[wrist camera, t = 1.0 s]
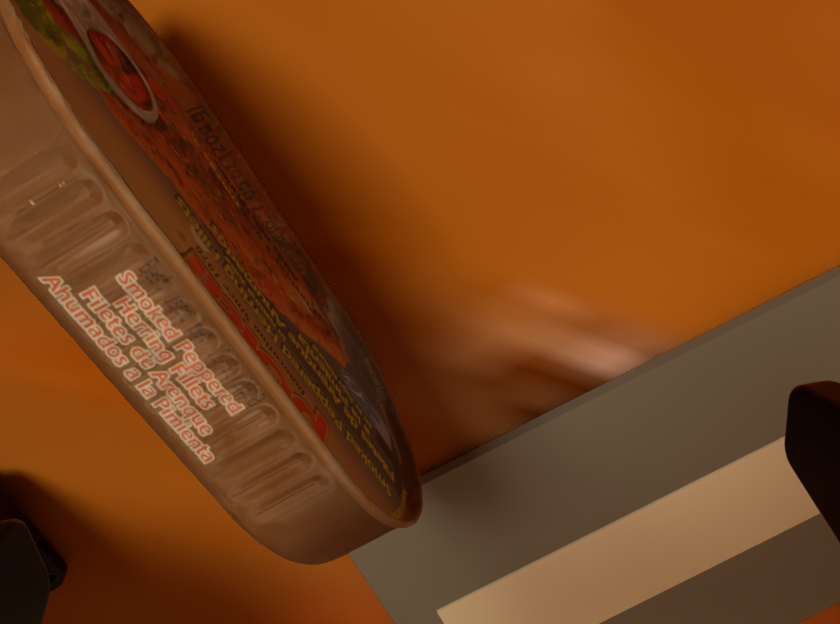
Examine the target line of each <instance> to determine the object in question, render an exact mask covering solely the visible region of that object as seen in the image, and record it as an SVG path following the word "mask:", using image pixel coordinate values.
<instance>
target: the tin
mask: <svg viewBox="0 0 840 624" xmlns="http://www.w3.org/2000/svg"><path fill="white" fill-rule="evenodd" d="M0 256H1V258H2V259H3V260H4V261H5V262H6V263H7V264H8V265H9V266H10V267H11V268H12V269H13V270H14V271H15V273H16V274H17V275H18V276H19V278H20V279H21V280H22V281H23V283H24V284H25V285H26V286H27V287H28V288H29V290H30V291H31V292H32V293H33V294H34V295H35V296H36V297H37V299H38V300H39V301H40V302H41V303H42V304H43V305H44V306H45V308H46V309H47V310H48V311H49V312H50V313H51V314H52V315H53V317H54V318H55V319H56V320H57V321H58V322H59V324H60V325H61V326H62V327H63V328H64V329H65V330H66V331H67V332H68V333H69V335H70V336H71V337H72V338H73V339H74V340H75V341H76V342H77V344H78V345H79V346H80V347H81V348H82V350H83V351H84V352H85V353H86V355H87V356H88V357H89V358H90V359H91V360H92V361H93V362H94V363H95V364H96V366H97V367H98V368H99V369H100V370H101V372H102V373H103V374H104V375H105V376H106V377H107V378H108V379H109V380H110V382H111V383H112V384H113V385H114V386H115V387H116V388H117V389H118V390H119V391H120V393H121V394H122V395H123V396H124V397H125V399H126V400H127V401H128V402H129V403H130V404H131V405H132V406H133V407H134V408H135V410H136V411H137V412H138V413H139V414H140V415H141V416H142V417H143V418H144V419H145V421H146V422H147V423H148V424H149V425H150V426H151V427H152V428H153V430H154V431H155V432H156V433H157V434H158V435H159V436H160V437H161V439H162V440H163V441H164V442H165V443H166V444H167V445H168V447H169V448H170V449H171V450H172V451H173V452H174V453H175V454H176V455H177V456H178V457H179V458H180V459H181V461H182V462H183V463H184V464H185V466H186V467H187V468H188V469H189V470H190V471H191V472H192V473H193V474H194V475H195V476H196V477H197V479H198V480H199V481H200V482H201V483H202V484H203V486H204V487H205V488H206V489H207V490H208V491H209V492H210V493H211V494H212V496H213V497H214V498H215V499H216V500H217V501H218V502H219V504H220V505H221V506H222V507H223V508H224V509H225V510H226V511H227V513H228V514H229V515H230V516H231V517H232V518H233V519H234V520H235V521H236V522H237V523H238V524H239V525H240V526H241V527H242V528H243V529H244V530H245V531H247V532H248V533H249V534H250V535H251V536H252V537H254V538H255V539H256V540H257V541H258V542H259V543H260V544H262V545H263V546H265V547H266V548H268V549H269V550H271V551H272V552H274V553H276V554H278V555H280V556H281V557H283V558H285V559H287V560H290V561H293V562H296V563H302V564H322V563H326V562H329V561H332V560H334V559H336V558H339V557H341V556H343V555H346V554H348V553H350V552H352V551H354V550H356V549H358V548H360V547H362V546H364V545H365V544H367V543H369V542H371V541H373V540H375V539H377V538H379V537H381V536H383V535H385V534H386V533H388V532H390V531H392V530H394V529H397V528H407V527H410V526H412V525H414V524H416V522H417V521H418V519H419V517H420V516H421V512H422V507H423V495H422V486H421V479H420V475H419V471H418V466H417V463H416V459H415V456H414V453H413V450H412V447H411V444H410V441H409V438H408V435H407V433H406V430H405V428H404V425H403V423H402V420H401V418H400V415H399V412H398V410H397V407H396V405H395V402H394V400H393V397H392V395H391V393H390V390H389V388H388V386H387V383H386V381H385V379H384V377H383V375H382V373H381V371H380V369H379V367H378V365H377V363H376V361H375V359H374V358H373V356H372V354H371V352H370V350H369V348H368V347H367V345H366V343H365V341H364V340H363V338H362V336H361V334H360V333H359V331H358V330H357V328H356V327H355V325H354V324H353V322H352V320H351V318H350V316H349V315H348V313H347V312H346V310H345V309H344V307H343V305H342V304H341V302H340V301H339V299H338V298H337V296H336V295H335V293H334V292H333V290H332V289H331V287H330V286H329V284H328V283H327V281H326V280H325V279H324V277H323V275H322V274H321V272H320V271H319V269H318V268H317V266H316V265H315V263H314V262H313V260H312V259H311V258H310V256H309V255H308V253H307V252H306V250H305V249H304V247H303V246H302V244H301V242H300V241H299V239H298V238H297V237H296V235H295V234H294V232H293V231H292V229H291V228H290V226H289V225H288V223H287V222H286V220H285V219H284V217H283V216H282V214H281V213H280V211H279V210H278V208H277V207H276V205H275V204H274V202H273V201H272V199H271V198H270V196H269V195H268V193H267V192H266V190H265V189H264V187H263V186H262V184H261V183H260V181H259V180H258V178H257V177H256V175H255V174H254V172H253V171H252V169H251V168H250V166H249V165H248V163H247V162H246V160H245V159H244V157H243V156H242V154H241V153H240V151H239V150H238V148H237V147H236V145H235V144H234V142H233V141H232V139H231V138H230V136H229V135H228V133H227V132H226V130H225V129H224V127H223V126H222V124H221V123H220V121H219V120H218V118H217V117H216V115H215V114H214V112H213V111H212V109H211V108H210V106H209V105H208V103H207V102H206V100H205V99H204V97H203V96H202V95H201V93H200V92H199V90H198V89H197V87H196V86H195V84H194V83H193V82H192V80H191V79H190V77H189V76H188V74H187V73H186V72H185V70H184V69H183V68H182V66H181V65H180V63H179V62H178V61H177V59H176V58H175V57H174V55H173V54H172V53H171V52H170V51H169V49H168V48H167V47H166V45H165V44H164V43H163V42H162V40H161V39H160V38H159V37H158V35H157V34H156V33H155V31H154V30H153V29H152V28H151V27H150V25H149V24H148V23H147V22H146V20H145V19H144V18H143V17H142V15H141V14H140V13H139V12H138V11H137V10H136V8H135V7H134V6H133V5H132V4H131V3H130V2H129V1H128V0H0Z"/></svg>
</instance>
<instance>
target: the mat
mask: <svg viewBox="0 0 840 624" xmlns="http://www.w3.org/2000/svg"><path fill="white" fill-rule="evenodd" d="M819 381H835V382H838V383H840V266H838V267H836V268H834V269H832V270H830V271H828V272H826V273H824V274H822V275H820V276H818V277H816V278H814V279H812V280H810V281H808V282H806V283H804V284H802V285H800V286H798V287H796V288H794V289H792V290H790V291H788V292H786V293H784V294H782V295H780V296H778V297H776V298H774V299H772V300H770V301H768V302H766V303H764V304H762V305H760V306H758V307H756V308H754V309H752V310H750V311H748V312H746V313H744V314H742V315H740V316H738V317H736V318H734V319H732V320H730V321H728V322H726V323H724V324H722V325H720V326H718V327H716V328H714V329H712V330H710V331H708V332H706V333H704V334H702V335H700V336H698V337H696V338H694V339H692V340H690V341H688V342H686V343H684V344H682V345H680V346H678V347H676V348H674V349H672V350H670V351H668V352H666V353H664V354H662V355H660V356H658V357H657V358H655V359H653V360H651V361H649V362H647V363H645V364H643V365H641V366H639V367H637V368H635V369H633V370H631V371H629V372H627V373H625V374H623V375H621V376H619V377H617V378H615V379H613V380H611V381H609V382H607V383H605V384H603V385H601V386H599V387H597V388H595V389H593V390H591V391H589V392H587V393H585V394H583V395H581V396H579V397H577V398H575V399H573V400H571V401H569V402H567V403H565V404H563V405H561V406H559V407H557V408H555V409H553V410H551V411H549V412H547V413H545V414H543V415H541V416H539V417H537V418H535V419H533V420H531V421H529V422H527V423H525V424H523V425H521V426H519V427H517V428H515V429H513V430H511V431H509V432H507V433H505V434H503V435H501V436H499V437H497V438H495V439H493V440H491V441H489V442H487V443H485V444H483V445H481V446H479V447H477V448H475V449H473V450H471V451H469V452H467V453H466V454H464V455H462V456H460V457H458V458H456V459H454V460H452V461H450V462H448V463H446V464H444V465H442V466H440V467H438V468H436V469H434V470H432V471H430V472H428V473H426V474H424V475H422V476H420V479H421V486H422V495H423V507H422V512H421V516H420V517H419V519H418V521H417V522H416V524H414V525H412V526H410V527H407V528H397V529H394V530H392V531H390V532H388V533H386V534H385V535H383V536H381V537H379V538H377V539H375V540H373V541H371V542H369V543H367V544H365V545H364V546H362V547H360V548H358V549H356V550H354V551H352V552H350V553H348V554H349V555H350V557H351V558H352V560H353V561H354V563H355V564H356V566H357V567H358V569H359V570H360V572H361V573H362V575H363V576H364V578H365V579H366V581H367V582H368V584H369V585H370V587H371V588H372V590H373V591H374V593H375V594H376V596H377V597H378V599H379V600H380V602H381V603H382V605H383V606H384V608H385V609H386V611H387V612H388V614H389V615H390V617H391V618H392V620H393V621H394V623H395V624H797V623H799V622H801V621H803V620H805V619H807V618H809V617H811V616H813V615H815V614H817V613H819V612H821V611H823V610H825V609H827V608H829V607H831V606H833V605H835V604H837V603H839V602H840V544H839V542H838V540H837V539H836V537H835V536H834V534H833V533H832V531H831V529H830V528H829V526H828V525H827V523H826V521H825V520H824V518H823V517H822V515H821V513H820V512H819V510H818V509H817V507H816V506H815V504H814V502H813V501H812V499H811V498H810V496H809V494H808V493H807V491H806V490H805V488H804V486H803V485H802V483H801V482H800V480H799V479H798V477H797V475H796V474H795V472H794V471H793V469H792V467H791V466H790V464H789V462H788V459H787V457H786V453H785V444H784V442H785V431H786V420H787V410H788V400H789V395H790V393H791V391H792V389H793V388H795V387H796V386H797V385H802V384H807V383H813V382H819Z"/></svg>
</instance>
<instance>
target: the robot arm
mask: <svg viewBox="0 0 840 624" xmlns="http://www.w3.org/2000/svg"><path fill="white" fill-rule="evenodd" d="M784 444H785V453H786V457H787V459H788V462H789V464H790V466H791V467H792V469H793V471H794V472H795V474H796V475H797V477H798V479H799V480H800V482H801V483H802V485H803V486H804V488H805V490H806V491H807V493H808V494H809V496H810V498H811V499H812V501H813V502H814V504H815V506H816V507H817V509H818V510H819V512H820V513H821V515H822V517H823V518H824V520H825V521H826V523H827V525H828V526H829V528H830V529H831V531H832V533H833V534H834V536H835V537H836V539H837V540H838V542H839V544H840V383H838V382H835V381H819V382H813V383H807V384H802V385H797V386H796V387H795V388H793V389H792V391H791V393H790V395H789V400H788V410H787V420H786V431H785V442H784ZM48 571H50V572H52V573H53V574H54V575H49V574H48ZM66 573H67V565H66V563H65V562H64V560H63V559H62V558H61V557H60V556H59V555H58V554H57V553H56V552H55V550H54V549H53V548H52V547H51V546H50V545H49V544H48V543H47V541H46V540H45V539H44V538H43V537H42V536H41V535H40V534H39V530H38V529H37V528H36V527H35V526H34V525H33V524H32V522H31V521H30V520H29V519H28V518H27V517H26V516H25V515H24V514H23V512H22V511H21V510H20V509H19V508H18V507H17V506H16V505H15V503H14V502H13V501H12V500H11V499H10V498H9V497H8V496H7V495H6V493H5V492H4V491H3V490H2V489H1V488H0V624H42V621H43V617H44V613H45V610H46V606H47V602H48V598H49V592H50V591H52V590H54V589H56V588H57V587H59V586H60V585H61V584H62V582H63V580H64V578H65V575H66Z"/></svg>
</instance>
